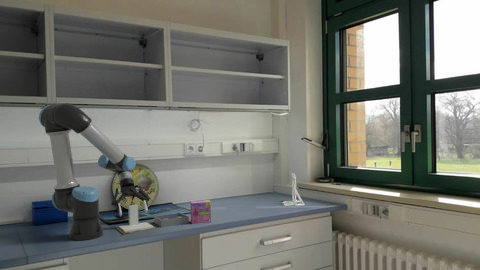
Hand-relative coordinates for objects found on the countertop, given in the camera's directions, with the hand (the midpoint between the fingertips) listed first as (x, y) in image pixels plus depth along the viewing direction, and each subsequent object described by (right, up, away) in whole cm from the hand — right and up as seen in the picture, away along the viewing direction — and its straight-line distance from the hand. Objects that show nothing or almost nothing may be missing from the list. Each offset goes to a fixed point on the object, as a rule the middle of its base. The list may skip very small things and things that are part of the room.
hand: (134, 213), depth 200 cm
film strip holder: (+92, -5, +54) cm, 107 cm away
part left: (+16, -6, +1) cm, 18 cm away
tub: (+19, -7, +5) cm, 21 cm away
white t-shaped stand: (+2, -7, -5) cm, 8 cm away
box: (+35, -7, +6) cm, 36 cm away
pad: (+3, -7, -5) cm, 9 cm away
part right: (+23, -6, +5) cm, 25 cm away
